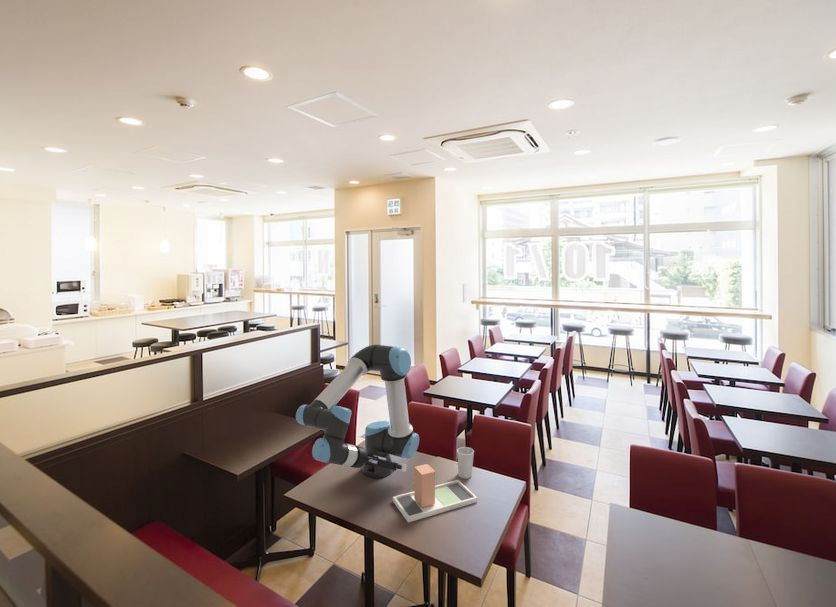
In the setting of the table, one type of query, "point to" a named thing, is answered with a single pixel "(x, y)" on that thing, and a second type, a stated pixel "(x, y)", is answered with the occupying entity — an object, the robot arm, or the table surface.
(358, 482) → the table surface
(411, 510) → the sorting tray
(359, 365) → the robot arm
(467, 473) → the cup
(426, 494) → the block
